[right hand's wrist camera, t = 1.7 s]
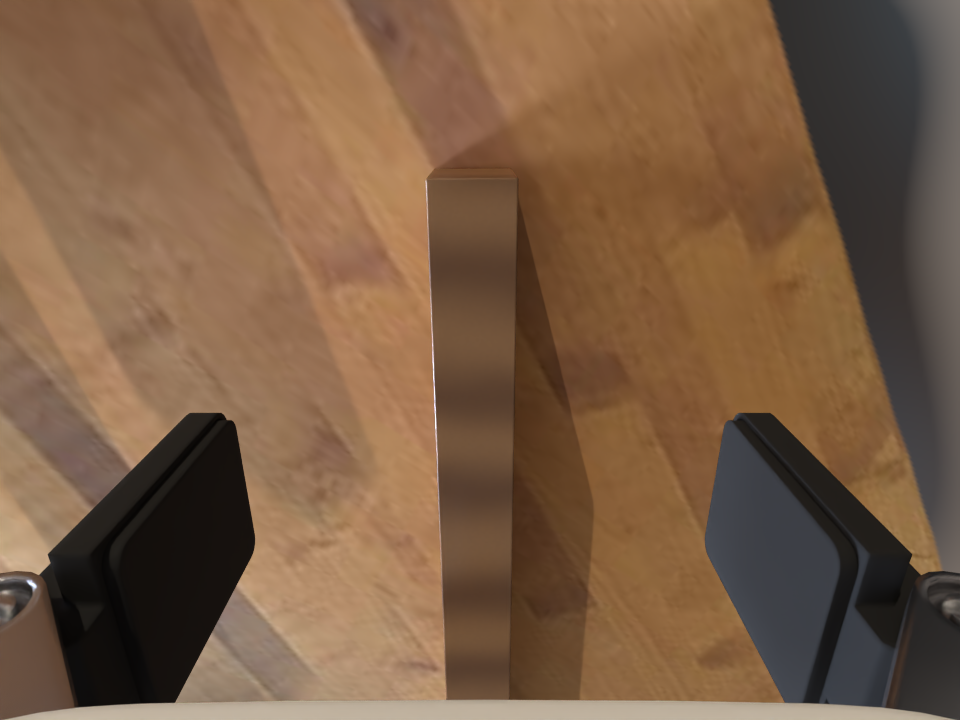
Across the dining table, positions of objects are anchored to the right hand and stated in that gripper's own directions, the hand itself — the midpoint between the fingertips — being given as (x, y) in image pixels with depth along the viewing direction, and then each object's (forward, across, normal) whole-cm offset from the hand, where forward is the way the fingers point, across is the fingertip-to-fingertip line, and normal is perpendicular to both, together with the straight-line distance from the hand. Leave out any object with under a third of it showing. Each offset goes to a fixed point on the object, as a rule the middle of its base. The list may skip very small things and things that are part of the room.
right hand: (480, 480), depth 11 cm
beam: (+28, 0, -23) cm, 36 cm away
